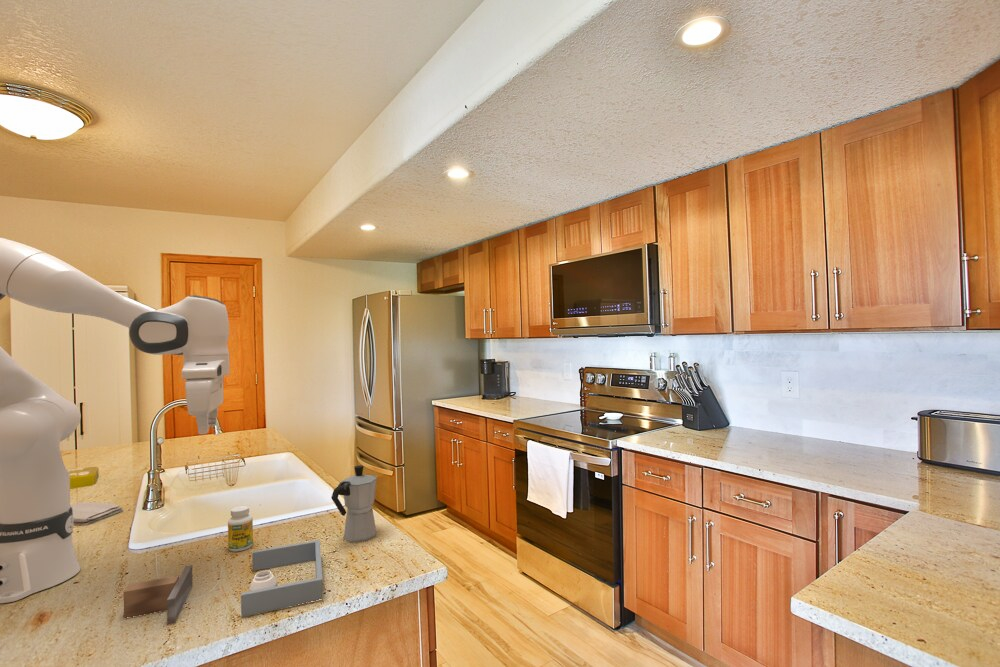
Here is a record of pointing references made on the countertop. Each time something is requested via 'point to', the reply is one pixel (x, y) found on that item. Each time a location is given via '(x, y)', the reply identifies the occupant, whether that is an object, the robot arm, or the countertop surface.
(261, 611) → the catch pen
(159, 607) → the scraper
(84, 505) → the washcloth
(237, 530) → the supplement bottle
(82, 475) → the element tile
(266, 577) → the white jar
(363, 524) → the coffee maker
